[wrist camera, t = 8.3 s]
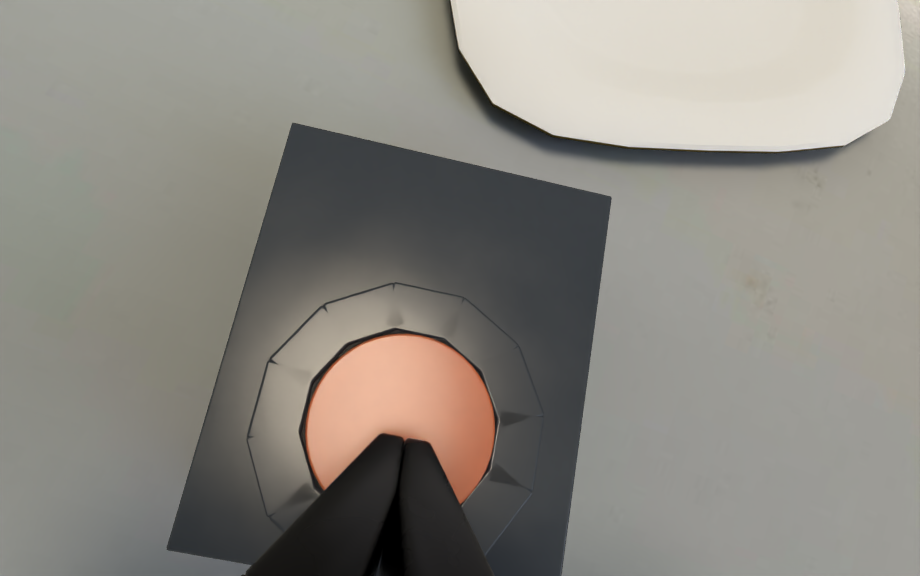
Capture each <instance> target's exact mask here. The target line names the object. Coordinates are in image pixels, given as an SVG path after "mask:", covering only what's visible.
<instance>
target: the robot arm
mask: <svg viewBox="0 0 920 576" xmlns="http://www.w3.org/2000/svg"><path fill="white" fill-rule="evenodd" d="M380 558H381V560H380ZM379 562H380V567H379V576H494V574H493V572H492V569H491V567H490V565H489V563H488V561H487V559H486V557H485V555H484V553H483V551H482V549H481V547H480V545H479V542H478V540H477V538H476V536H475V534H474V532H473V530H472V528H471V526H470V524H469V522H468V520H467V518H466V515H465V513H464V511H463V509H462V507H461V505H460V503H459V501H458V499H457V497H456V495H455V493H454V491H453V488H452V486H451V484H450V482H449V480H448V478H447V476H446V474H445V472H444V470H443V468H442V466H441V463H440V461H439V459H438V457H437V455H436V453H435V451H434V449H433V447H432V445H431V443H430V442H428V441H423V440H418V439H413V438H407V439H406V440H405V442H404V438H403V437H402V436H398V435H392V434H387V433H380V434H379V435H378V436H376V438H375V439H374V440H373V441H372V442H371V443H370V444H369V445H368V446H367V447H366V448H365V449H364V450H363V451H362V452H361V453H360V454H359V455H358V456H357V457H356V458H355V459H354V460H353V461H352V462H351V463H350V464H349V465H348V466H347V467H346V469H345V470H344V471H343V472H342V473H341V474H340V475H339V476H338V477H337V478H336V479H335V480H334V481H333V482H332V483H331V484H330V485H329V486H328V487H327V488H326V489H325V490H324V491H323V492H322V493H321V494H320V495H319V496H318V497H317V499H316V500H315V501H314V502H313V503H312V504H311V505H310V506H309V507H308V508H307V509H306V510H305V511H304V512H303V513H302V514H301V515H300V516H299V517H298V518H297V519H296V520H295V521H294V522H293V523H292V524H291V525H290V526H289V527H288V528H287V530H286V531H285V532H284V533H283V534H282V535H281V536H280V537H279V538H278V539H277V540H276V541H275V542H274V543H273V544H272V545H271V546H270V547H269V548H268V549H267V550H266V551H265V552H264V553H263V554H262V555H261V556H260V557H259V558H258V559H257V561H256V562H255V563H254V564H253V565H252V566H251V567H250V568H249V569H248V570H247V571H246V574H245V575H241V576H376V574H377V570H378V566H379Z"/></svg>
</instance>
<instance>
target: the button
mask: <svg viewBox="0 0 920 576" xmlns="http://www.w3.org/2000/svg"><path fill="white" fill-rule="evenodd" d="M380 433H387V434H392V435H398V436H402V437H403V438H404V442H405V440H406V439H407V438H413V439H418V440H423V441H428V442H430V443H431V445H432V447H433V449H434V451H435V453H436V455H437V457H438V459H439V461H440V463H441V466H442V468H443V470H444V472H445V474H446V476H447V478H448V480H449V482H450V484H451V486H452V488H453V491H454V493H455V495H456V497H457V499H458V501H459V503H460V504H461V503H462V502H464V501H465V500H466V499H467V497H468V496H469V495H470V494H471V493H472V492H473V491H474V489H475V488H476V486H477V485H478V483H479V482H480V481H481V479H482V477H483V475H484V473H485V471H486V469H487V466H488V464H489V461H490V458H491V454H492V450H493V446H494V437H495V419H494V412H493V406H492V403H491V399H490V396H489V393H488V391H487V389H486V386H485V384H484V382H483V381H482V379H481V377H480V376H479V374H478V373H477V371H476V370H475V369H474V367H473V366H472V365H471V364H470V363H469V362H468V361H467V360H466V359H465V358H464V357H463V356H462V355H461V354H459V353H458V352H457V351H455V350H454V349H453V348H451V347H449V346H447V345H446V344H444V343H442V342H439V341H437V340H435V339H432V338H429V337H425V336H421V335H414V334H391V335H384V336H380V337H376V338H373V339H370V340H368V341H365V342H363V343H361V344H359V345H357V346H355V347H353V348H352V349H350V350H349V351H348V352H346V353H345V354H343V355H342V356H341V357H340V358H339V359H338V360H337V361H336V362H335V363H333V364H332V366H331V367H330V368H329V369H328V370H327V372H326V373H325V374H324V376H323V377H322V379H321V380H320V382H319V384H318V385H317V387H316V389H315V392H314V394H313V396H312V399H311V402H310V405H309V408H308V413H307V418H306V429H305V439H306V449H307V454H308V458H309V462H310V465H311V468H312V470H313V473H314V475H315V477H316V479H317V481H318V483H319V484H320V486H321V487H322V489H323V490H325V489H326V488H327V487H328V486H329V485H330V484H331V483H332V482H333V481H334V480H335V479H336V478H337V477H338V476H339V475H340V474H341V473H342V472H343V471H344V470H345V469H346V467H347V466H348V465H349V464H350V463H351V462H352V461H353V460H354V459H355V458H356V457H357V456H358V455H359V454H360V453H361V452H362V451H363V450H364V449H365V448H366V447H367V446H368V445H369V444H370V443H371V442H372V441H373V440H374V439H375V438H376V436H378V435H379V434H380Z"/></svg>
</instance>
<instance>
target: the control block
mask: <svg viewBox="0 0 920 576" xmlns="http://www.w3.org/2000/svg"><path fill="white" fill-rule="evenodd" d="M610 206H611V197H610V196H606V195H602V194H598V193H593V192H589V191H585V190H580V189H576V188H572V187H567V186H563V185H559V184H555V183H550V182H546V181H542V180H537V179H533V178H529V177H524V176H520V175H516V174H512V173H507V172H503V171H499V170H494V169H490V168H486V167H481V166H477V165H473V164H469V163H464V162H460V161H456V160H451V159H447V158H443V157H438V156H434V155H430V154H425V153H421V152H417V151H413V150H408V149H404V148H400V147H395V146H391V145H387V144H382V143H378V142H374V141H370V140H365V139H361V138H357V137H352V136H348V135H344V134H339V133H335V132H331V131H327V130H322V129H318V128H314V127H309V126H305V125H301V124H296V123H292V125H291V129H290V132H289V136H288V139H287V142H286V146H285V149H284V152H283V156H282V159H281V163H280V166H279V169H278V173H277V176H276V180H275V183H274V186H273V190H272V193H271V196H270V200H269V203H268V207H267V210H266V213H265V217H264V220H263V223H262V227H261V230H260V234H259V237H258V240H257V244H256V247H255V251H254V254H253V257H252V261H251V264H250V267H249V271H248V274H247V278H246V281H245V284H244V288H243V291H242V295H241V298H240V301H239V305H238V308H237V311H236V315H235V318H234V322H233V325H232V328H231V332H230V335H229V339H228V342H227V345H226V349H225V352H224V355H223V359H222V362H221V366H220V369H219V372H218V376H217V379H216V383H215V386H214V389H213V393H212V396H211V399H210V403H209V406H208V410H207V413H206V416H205V420H204V423H203V427H202V430H201V433H200V437H199V440H198V443H197V447H196V450H195V454H194V457H193V460H192V464H191V467H190V471H189V474H188V477H187V481H186V484H185V487H184V491H183V494H182V498H181V501H180V504H179V508H178V511H177V514H176V518H175V521H174V525H173V528H172V531H171V535H170V538H169V542H168V545H167V550H169V551H174V552H180V553H186V554H192V555H197V556H203V557H209V558H214V559H220V560H226V561H232V562H237V563H243V564H249V565H253V564H254V563H255V562H256V561H257V559H258V558H259V557H260V556H261V555H262V554H263V553H264V552H265V551H266V550H267V549H268V548H269V547H270V546H271V545H272V544H273V543H274V542H275V541H276V540H277V539H278V538H279V537H280V536H281V535H282V534H283V533H284V532H285V531H286V530H287V528H288V527H289V526H290V525H291V524H292V523H293V522H294V521H295V520H296V519H297V518H298V517H299V516H300V515H301V514H302V513H303V512H304V511H305V510H306V509H307V508H308V507H309V506H310V505H311V504H312V503H313V502H314V501H315V500H316V499H317V497H318V496H319V495H320V494H321V493H322V492H323V491H324V490H323V489H322V487H321V486H320V484H319V483H318V481H317V479H316V477H315V475H314V473H313V470H312V468H311V465H310V462H309V458H308V454H307V449H306V439H305V429H306V418H307V413H308V408H309V405H310V402H311V399H312V396H313V394H314V392H315V389H316V387H317V385H318V384H319V382H320V380H321V379H322V377H323V376H324V374H325V373H326V372H327V370H328V369H329V368H330V367H331V366H332V364H333V363H335V362H336V361H337V360H338V359H339V358H340V357H341V356H342V355H343V354H345V353H346V352H348V351H349V350H350V349H352V348H353V347H355V346H357V345H359V344H361V343H363V342H365V341H368V340H370V339H373V338H376V337H380V336H384V335H391V334H414V335H421V336H425V337H429V338H432V339H435V340H437V341H439V342H442V343H444V344H446V345H447V346H449V347H451V348H453V349H454V350H455V351H457V352H458V353H459V354H461V355H462V356H463V357H464V358H465V359H466V360H467V361H468V362H469V363H470V364H471V365H472V366H473V367H474V369H475V370H476V371H477V373H478V374H479V376H480V377H481V379H482V381H483V382H484V384H485V386H486V389H487V391H488V393H489V396H490V399H491V403H492V406H493V412H494V419H495V437H494V446H493V450H492V454H491V458H490V461H489V464H488V466H487V469H486V471H485V473H484V475H483V477H482V479H481V481H480V482H479V483H478V485H477V486H476V488H475V489H474V491H473V492H472V493H471V494H470V495H469V496H468V497H467V499H466V500H465V501H464V502H462V503H461V504H460V505H461V507H462V509H463V511H464V513H465V515H466V518H467V520H468V522H469V524H470V526H471V528H472V530H473V532H474V534H475V536H476V538H477V540H478V542H479V545H480V547H481V549H482V551H483V553H484V555H485V557H486V559H487V561H488V563H489V565H490V567H491V569H492V572H493V574H494V576H561V574H562V567H563V559H564V552H565V544H566V537H567V529H568V522H569V514H570V507H571V499H572V492H573V484H574V477H575V469H576V462H577V454H578V447H579V439H580V432H581V424H582V417H583V409H584V402H585V394H586V387H587V379H588V372H589V364H590V356H591V349H592V341H593V334H594V326H595V319H596V311H597V304H598V296H599V289H600V281H601V274H602V266H603V259H604V251H605V244H606V236H607V229H608V221H609V214H610ZM380 560H381V558H380ZM379 567H380V562H379V566H378V570H377V574H376V576H379Z"/></svg>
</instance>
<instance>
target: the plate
mask: <svg viewBox="0 0 920 576" xmlns="http://www.w3.org/2000/svg"><path fill="white" fill-rule="evenodd" d="M450 4H451V10H452V15H453V21H454V27H455V33H456V38H457V44H458V50H459V52H460V54H461V56H462V57H463V59H464V61H465V62H466V64H467V65H468V67H469V69H470V70H471V72H472V74H473V75H474V77H475V78H476V80H477V82H478V83H479V85H480V86H481V88H482V90H483V91H484V93H485V95H486V96H487V98H488V99H489V101H490V103H491V104H492V106H494V107H496V108H498V109H500V110H502V111H504V112H506V113H508V114H509V115H511V116H513V117H515V118H517V119H519V120H521V121H523V122H525V123H527V124H529V125H530V126H532V127H534V128H536V129H538V130H540V131H542V132H544V133H546V134H548V135H550V136H551V137H555V138H562V139H568V140H575V141H581V142H588V143H594V144H601V145H607V146H614V147H620V148H627V149H648V150H670V151H692V152H730V153H785V152H795V151H805V150H815V149H826V148H836V147H843V146H844V145H847V144H848V143H850V142H852V141H854V140H855V139H857V138H859V137H861V136H862V135H864V134H866V133H868V132H869V131H871V130H873V129H875V128H876V127H878V126H880V125H882V124H883V123H885V122H887V121H889V120H890V118H891V115H892V112H893V109H894V106H895V103H896V100H897V97H898V94H899V90H900V87H901V84H902V81H903V78H904V75H905V62H904V52H903V42H902V32H901V22H900V12H899V6H898V1H897V0H450Z"/></svg>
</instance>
